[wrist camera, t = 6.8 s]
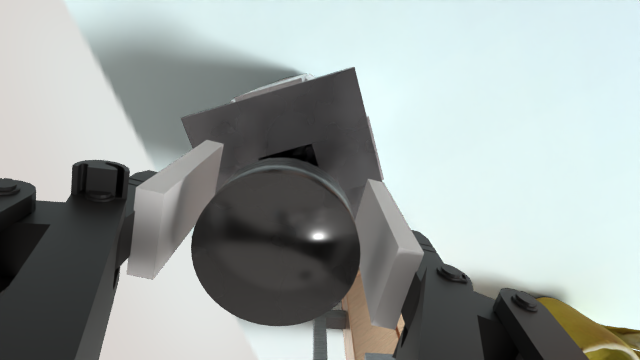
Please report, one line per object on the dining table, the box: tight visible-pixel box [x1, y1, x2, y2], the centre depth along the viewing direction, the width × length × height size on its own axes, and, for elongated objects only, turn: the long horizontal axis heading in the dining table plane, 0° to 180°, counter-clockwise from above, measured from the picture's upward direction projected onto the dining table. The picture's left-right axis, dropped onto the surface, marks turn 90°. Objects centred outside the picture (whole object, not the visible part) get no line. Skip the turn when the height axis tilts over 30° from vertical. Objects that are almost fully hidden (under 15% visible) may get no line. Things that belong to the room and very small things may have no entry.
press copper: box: [313, 268, 405, 360], centre depth 30 cm, size 12×9×13 cm
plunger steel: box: [191, 143, 361, 326], centre depth 20 cm, size 6×6×18 cm
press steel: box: [181, 67, 384, 220], centre depth 25 cm, size 12×9×13 cm
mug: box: [536, 297, 640, 360], centre depth 34 cm, size 12×10×10 cm
